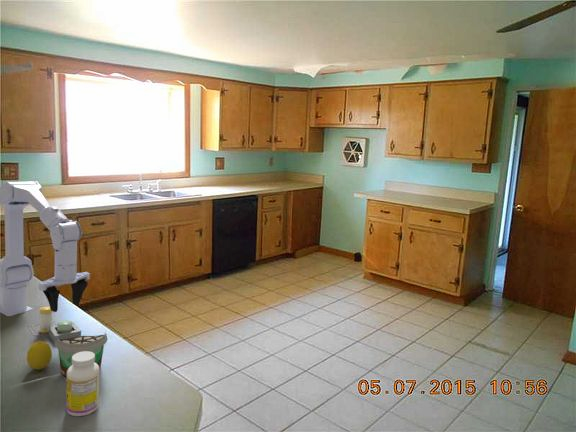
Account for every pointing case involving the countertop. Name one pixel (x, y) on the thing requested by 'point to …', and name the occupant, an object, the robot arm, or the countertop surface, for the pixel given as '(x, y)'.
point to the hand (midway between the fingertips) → (65, 307)
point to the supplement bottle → (82, 384)
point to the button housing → (66, 335)
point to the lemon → (39, 355)
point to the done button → (64, 326)
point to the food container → (79, 349)
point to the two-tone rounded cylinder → (45, 319)
